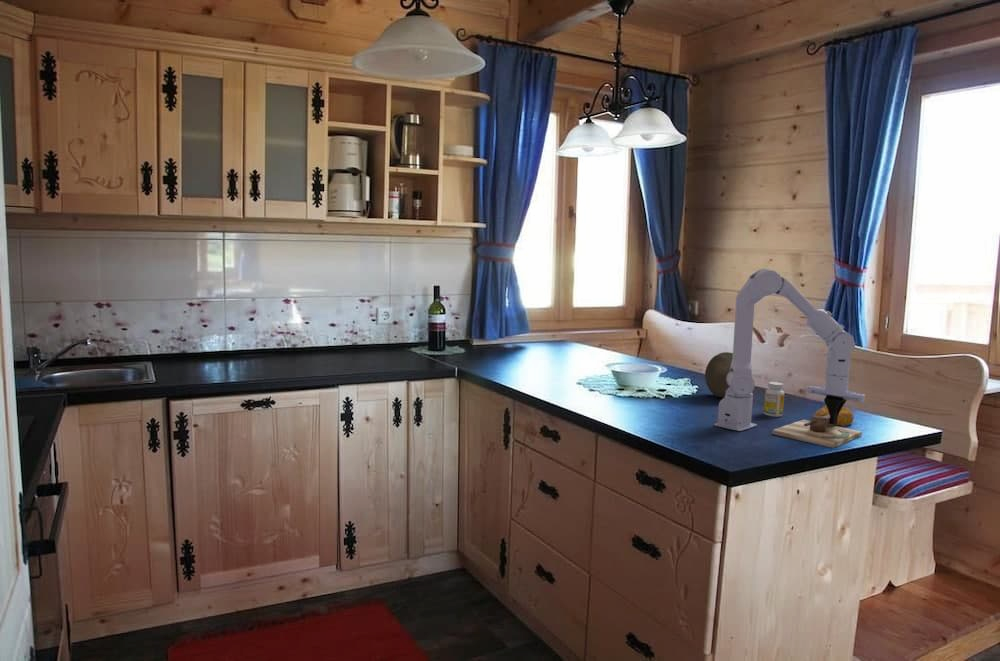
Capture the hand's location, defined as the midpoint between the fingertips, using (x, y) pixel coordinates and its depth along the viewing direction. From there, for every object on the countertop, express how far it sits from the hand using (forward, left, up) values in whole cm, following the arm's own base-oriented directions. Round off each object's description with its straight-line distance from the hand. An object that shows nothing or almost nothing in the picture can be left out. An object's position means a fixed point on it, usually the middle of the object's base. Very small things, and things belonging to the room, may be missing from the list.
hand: (833, 423), depth 195 cm
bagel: (+12, +5, -3) cm, 13 cm away
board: (-6, +2, -2) cm, 7 cm away
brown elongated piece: (-5, +2, -1) cm, 5 cm away
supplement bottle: (+6, +20, -3) cm, 21 cm away
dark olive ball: (+15, +41, -3) cm, 44 cm away
